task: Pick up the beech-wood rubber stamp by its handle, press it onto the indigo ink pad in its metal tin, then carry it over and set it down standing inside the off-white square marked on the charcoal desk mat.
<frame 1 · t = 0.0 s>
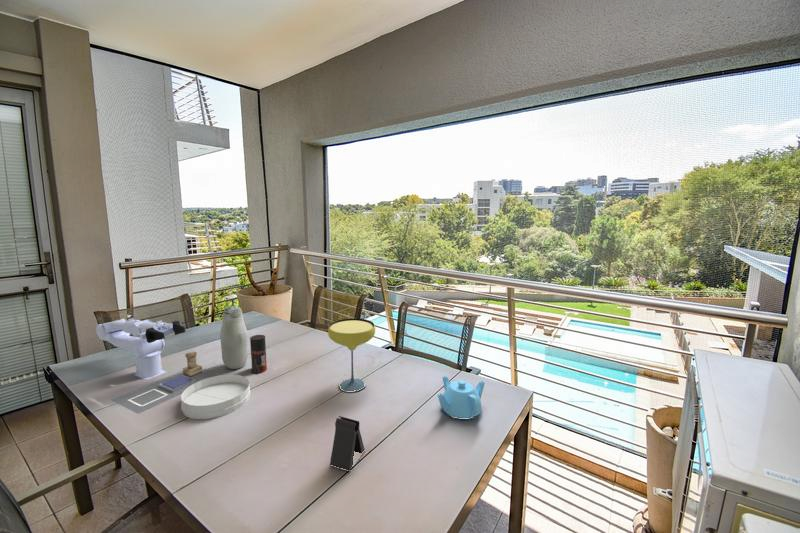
hand: (174, 332, 130), 22 cm above the table, tool horizontal, fingers open, 7 cm apart
cocktail glass: (352, 386, 136), on the table
deodorant: (259, 370, 148), on the table
stamp: (192, 373, 143), point 1 cm above the table, touching desk mat
teapot: (460, 410, 120), on the table
dish: (217, 402, 124), on the table
ink pad: (177, 384, 133), resting on desk mat
desk mat: (169, 388, 132), on the table
phone stand: (347, 459, 96), on the table
glass bottle: (236, 367, 150), on the table
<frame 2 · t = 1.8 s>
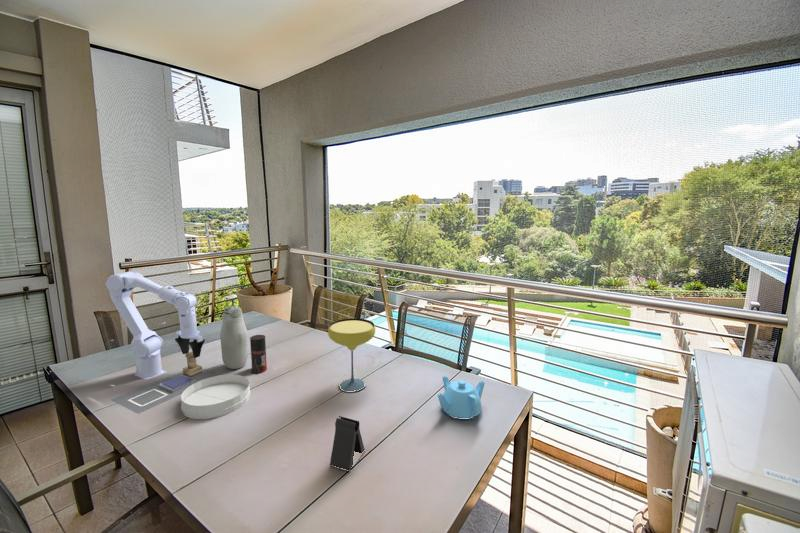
hand: (191, 355, 141), 9 cm above the table, tool pointing down, fingers open, 7 cm apart
nothing on the table moved.
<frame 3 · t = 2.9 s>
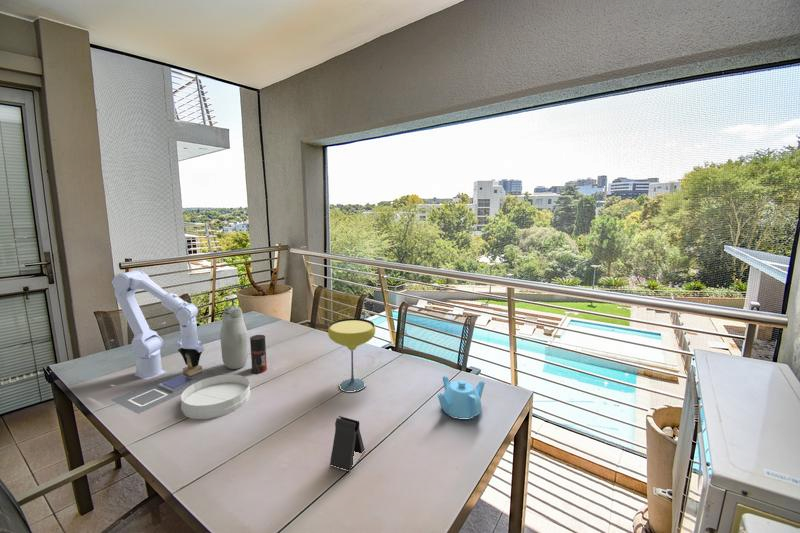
hand: (192, 364, 142), 4 cm above the table, tool pointing down, fingers closed on stamp, 4 cm apart
stamp: (192, 373, 143), point 1 cm above the table, touching desk mat, gripper
everything else where it was.
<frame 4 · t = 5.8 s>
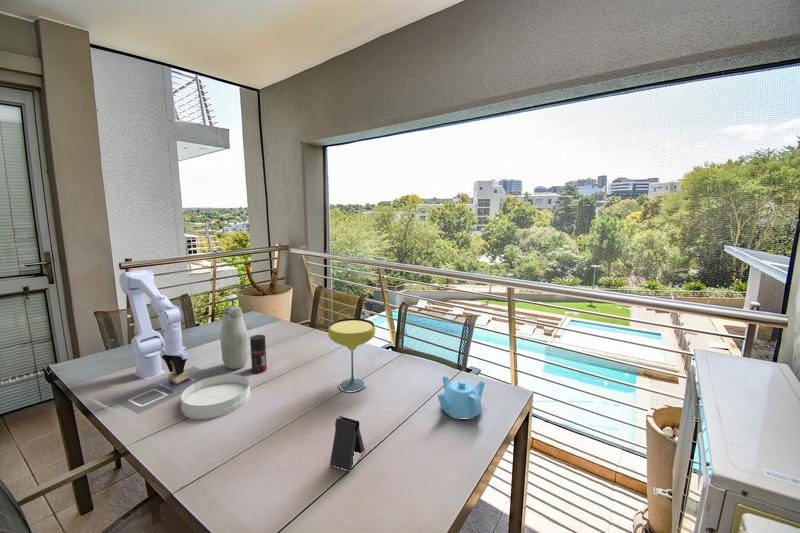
hand: (176, 372, 133), 6 cm above the table, tool pointing down, fingers closed on stamp, 4 cm apart
stamp: (179, 379, 134), point 2 cm above the table, touching gripper, ink pad
everything else where it was.
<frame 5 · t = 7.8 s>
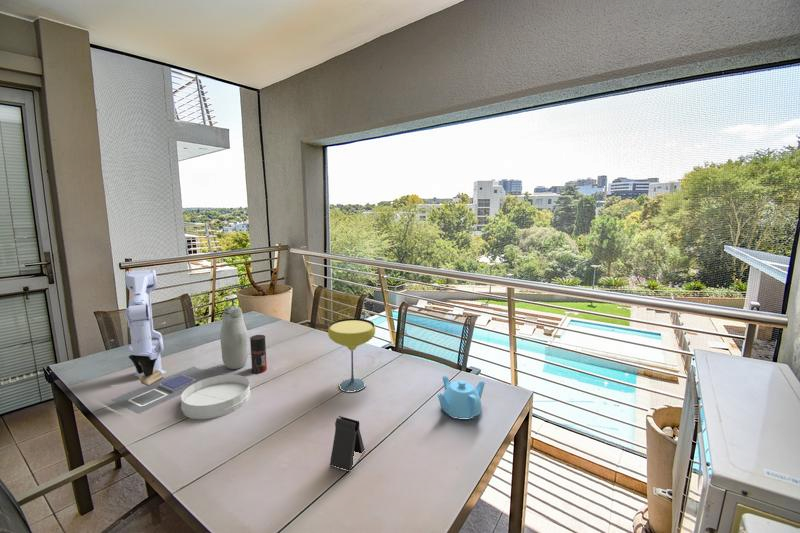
hand: (145, 373, 123), 10 cm above the table, tool pointing down, fingers closed on stamp, 4 cm apart
stamp: (152, 380, 125), point 6 cm above the table, tilted 10°, touching gripper
everything else where it was.
when the fingers open (5 cm above the table, at t = 9.1 s): stamp drops 1 cm, resting on desk mat.
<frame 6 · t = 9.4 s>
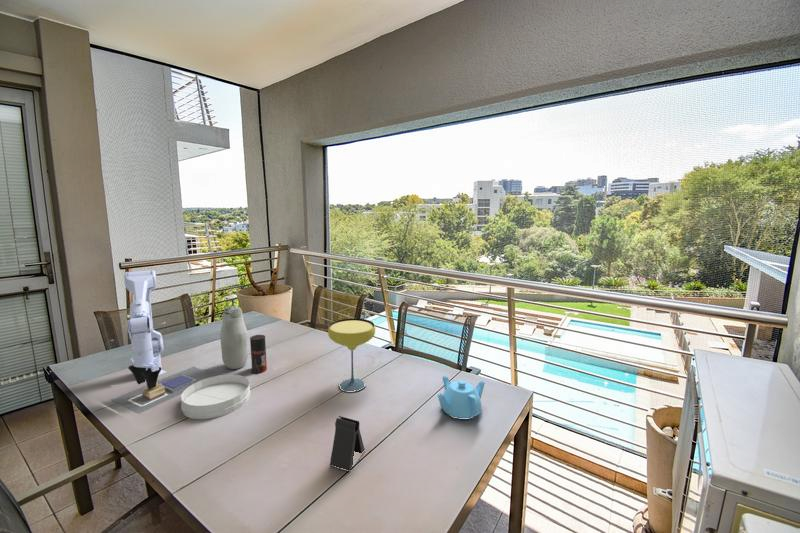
hand: (146, 385, 123), 5 cm above the table, tool pointing down, fingers open, 6 cm apart
stamp: (154, 395, 126), point 1 cm above the table, touching desk mat
everything else where it was.
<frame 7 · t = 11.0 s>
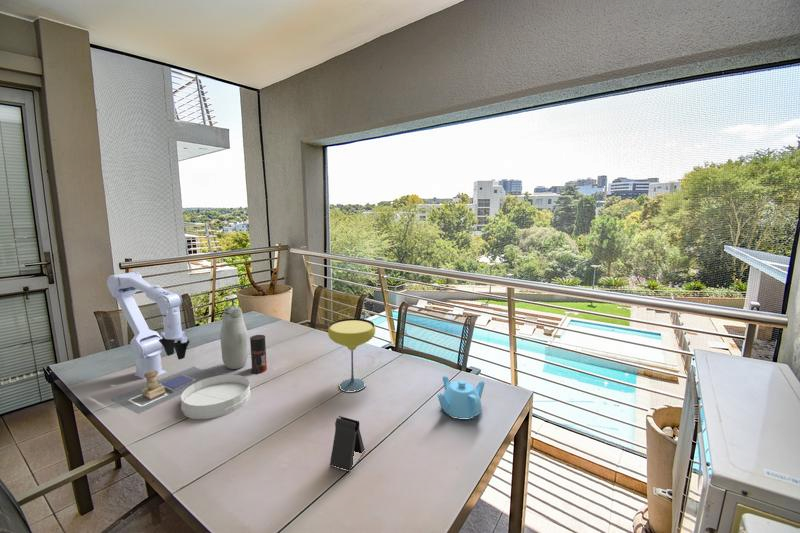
hand: (175, 356, 136), 10 cm above the table, tool pointing down, fingers open, 7 cm apart
nothing on the table moved.
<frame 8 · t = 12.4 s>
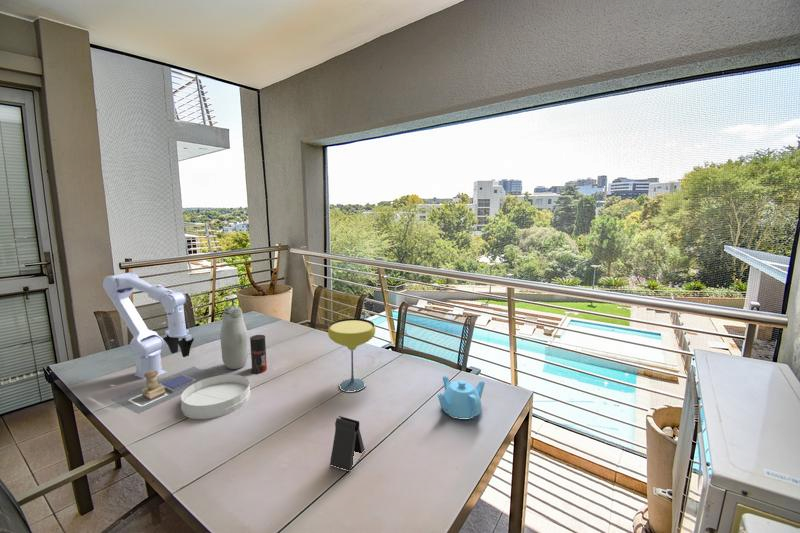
hand: (180, 354, 138), 10 cm above the table, tool pointing down, fingers open, 7 cm apart
nothing on the table moved.
at the end: stamp 1.9 cm from the target spot, point 0.7 cm above the table; stamp tilted 1°; the gripper is holding nothing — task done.
